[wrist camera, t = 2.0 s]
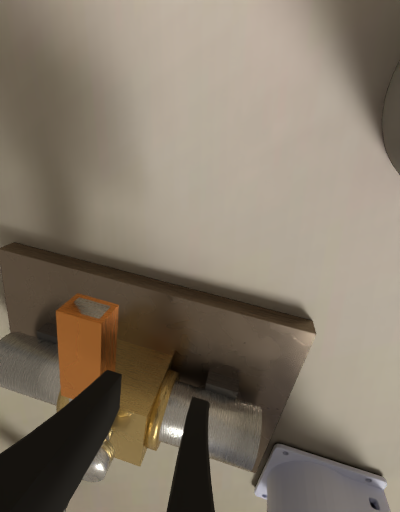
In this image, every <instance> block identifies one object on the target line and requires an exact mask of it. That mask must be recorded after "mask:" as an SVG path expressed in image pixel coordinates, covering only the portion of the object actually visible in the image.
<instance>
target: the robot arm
mask: <svg viewBox="0 0 400 512" xmlns="http://www.w3.org/2000/svg"><path fill="white" fill-rule="evenodd" d="M121 380H122V374H120V373H116V372H113V371H110V370H106V371H104V372H103V373H102V374H101V375H100V376H99V377H98V378H97V379H96V380H95V381H94V382H92V383H91V384H90V385H89V386H88V387H87V388H86V389H85V390H83V391H82V392H81V393H80V394H79V395H78V396H76V397H75V398H74V399H73V400H72V401H70V402H69V403H68V404H67V405H66V406H64V407H63V408H62V409H61V410H59V411H58V412H57V413H56V414H54V415H53V416H52V417H51V418H49V419H48V420H47V421H45V422H44V423H43V424H41V425H40V426H39V427H37V428H36V429H35V430H33V431H32V432H31V433H29V434H28V435H27V436H25V437H24V438H22V439H21V440H20V441H18V442H17V443H15V444H14V445H12V446H11V447H9V448H8V449H6V450H5V451H3V452H2V453H0V512H64V510H65V508H66V506H67V504H68V503H69V501H70V499H71V497H72V496H73V494H74V492H75V490H76V489H77V487H78V485H79V484H80V482H81V480H82V479H83V477H84V475H85V473H86V472H87V470H88V468H89V467H90V465H91V463H92V461H93V460H94V458H95V456H96V455H97V453H98V451H99V449H100V448H101V446H102V444H103V442H104V441H105V439H106V437H107V435H108V433H109V431H110V429H111V427H112V425H113V422H114V420H115V418H116V416H117V413H118V411H119V409H120V395H121ZM209 408H210V403H209V402H208V401H206V400H202V399H199V398H196V397H193V396H192V399H191V402H190V406H189V409H188V412H187V416H186V420H185V424H184V429H183V434H182V438H181V443H180V447H179V452H178V456H177V461H176V466H175V471H174V476H173V481H172V487H171V492H170V497H169V502H168V507H167V512H215V509H214V502H213V493H212V485H211V475H210V462H209V445H208V419H209ZM386 486H387V482H386V479H385V478H384V477H382V476H379V475H376V474H372V473H369V472H366V471H363V470H360V469H357V468H354V467H351V466H348V465H345V464H341V463H338V462H335V461H332V460H329V459H326V458H323V457H320V456H317V455H314V454H311V453H307V452H304V451H301V450H298V449H295V448H292V447H289V446H286V445H283V444H275V445H274V447H273V449H272V452H271V454H270V456H269V458H268V460H267V463H266V465H265V467H264V469H263V471H262V474H261V476H260V478H259V480H258V483H257V485H256V487H255V495H256V496H258V497H261V498H263V499H266V500H267V512H391V511H390V508H389V505H388V502H387V499H386V496H385V493H384V489H385V487H386Z"/></svg>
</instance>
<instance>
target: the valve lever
mask: <svg viewBox="0 0 400 512" xmlns="http://www.w3.org/2000/svg"><path fill="white" fill-rule="evenodd" d="M118 309H119V305H118V304H114V303H111V302H107V301H104V300H100V299H96V298H93V297H89V296H86V295H82V294H79V293H77V294H76V295H75V296H73V297H72V298H71V299H70V300H68V301H67V302H66V303H65V304H64V305H62V306H61V307H60V308H59V309H58V310H56V322H57V339H58V355H59V371H60V387H61V396H64V397H67V398H69V402H70V401H72V400H73V399H74V398H75V397H76V396H78V395H79V394H80V393H81V392H82V391H83V390H85V389H86V388H87V387H88V386H89V385H90V384H91V383H92V382H94V381H95V380H96V379H97V378H98V377H99V376H100V375H101V374H102V373H103V372H104V371H106V370H110V371H113V372H115V365H116V346H117V328H118ZM114 456H115V450H114V447H113V445H112V444H111V443H110V442H109V441H108V440H107V439H105V441H104V442H103V444H102V446H101V448H100V449H99V451H98V453H97V455H96V456H95V458H94V460H93V461H92V463H91V465H90V467H89V468H88V470H87V472H86V473H85V475H84V477H83V479H82V480H85V481H89V482H99V481H101V480H103V478H104V477H105V475H106V473H107V470H108V468H109V466H110V464H111V462H112V460H113V458H114Z"/></svg>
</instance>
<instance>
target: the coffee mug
mask: <svg viewBox="0 0 400 512" xmlns="http://www.w3.org/2000/svg"><path fill="white" fill-rule="evenodd" d="M382 130H383V138H384V145H385V148H386V151H387V154H388V156H389V158H390V160H391V162H392V164H393V166H394V167H395V169H396V170H397V171H398V173H399V174H400V62H399V63H398V65H397V67H396V69H395V71H394V73H393V76H392V79H391V82H390V84H389V87H388V90H387V93H386V96H385V101H384V108H383V116H382Z"/></svg>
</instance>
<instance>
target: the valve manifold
mask: <svg viewBox="0 0 400 512" xmlns="http://www.w3.org/2000/svg"><path fill="white" fill-rule="evenodd" d="M0 265H1V271H2V278H3V285H4V291H5V298H6V305H7V311H8V318H9V325H10V331H11V333H10V334H8V335H6V336H5V337H3V338H2V339H1V340H0V387H3V388H6V389H9V390H11V391H14V392H17V393H20V394H23V395H26V396H29V397H32V398H35V399H38V400H41V401H44V402H47V403H50V404H53V405H56V406H57V412H58V411H59V410H61V409H62V408H63V407H64V406H66V405H67V404H68V403H69V398H67V397H64V396H61V387H60V371H59V355H58V339H57V322H56V310H58V309H59V308H60V307H61V306H62V305H64V304H65V303H66V302H67V301H68V300H70V299H71V298H72V297H73V296H75V295H76V294H77V293H79V294H82V295H86V296H89V297H93V298H96V299H100V300H104V301H107V302H111V303H114V304H118V305H119V309H118V328H117V346H116V365H115V372H116V373H120V374H122V380H121V395H120V409H119V411H118V413H117V416H116V418H115V420H114V422H113V425H112V427H111V429H110V431H109V433H108V435H107V437H106V439H107V440H108V441H109V442H110V443H111V444H112V445H113V447H114V450H115V456H114V457H115V458H118V459H120V460H123V461H126V462H129V463H132V464H134V465H137V466H141V463H142V461H143V458H144V455H145V453H146V450H147V448H149V449H152V450H155V451H157V449H158V447H159V445H160V443H161V442H164V443H167V444H170V445H173V446H176V447H180V443H181V438H182V434H183V429H184V424H185V420H186V416H187V412H188V409H189V406H190V402H191V399H192V396H193V397H196V398H199V399H202V400H206V401H208V402H209V403H210V408H209V419H208V445H209V458H211V459H214V460H217V461H220V462H223V463H226V464H229V465H232V466H235V467H238V468H240V469H243V470H246V471H249V472H254V473H256V471H257V469H258V467H259V464H260V462H261V460H262V457H263V455H264V453H265V450H266V448H267V446H268V444H269V441H270V439H271V437H272V434H273V432H274V430H275V428H276V425H277V423H278V421H279V418H280V416H281V414H282V411H283V409H284V407H285V405H286V402H287V400H288V398H289V395H290V393H291V391H292V389H293V386H294V384H295V382H296V379H297V377H298V375H299V372H300V370H301V368H302V366H303V363H304V361H305V359H306V356H307V354H308V352H309V350H310V347H311V345H312V343H313V340H314V338H315V336H316V332H315V328H314V324H313V321H311V320H307V319H303V318H300V317H296V316H292V315H288V314H284V313H281V312H277V311H273V310H269V309H265V308H262V307H258V306H254V305H250V304H246V303H243V302H239V301H235V300H231V299H227V298H224V297H220V296H216V295H212V294H208V293H205V292H201V291H197V290H193V289H189V288H186V287H182V286H178V285H174V284H170V283H167V282H163V281H159V280H155V279H151V278H148V277H144V276H140V275H136V274H133V273H129V272H125V271H121V270H117V269H114V268H110V267H106V266H102V265H98V264H95V263H91V262H87V261H83V260H79V259H76V258H72V257H68V256H64V255H60V254H57V253H53V252H49V251H45V250H41V249H38V248H34V247H30V246H26V245H22V244H19V243H15V242H14V243H11V244H9V245H6V246H4V247H1V248H0Z"/></svg>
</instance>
